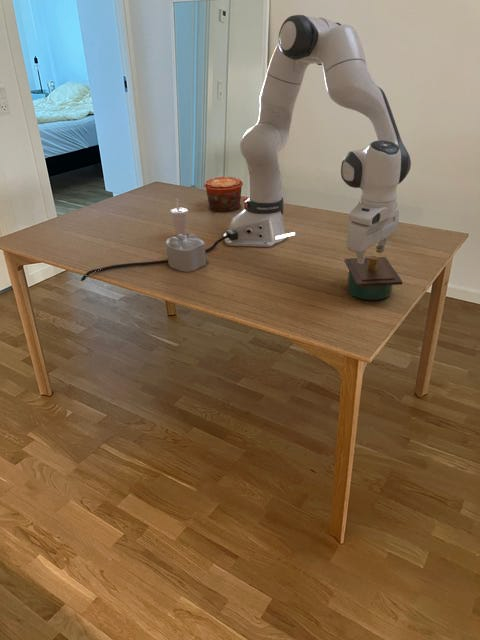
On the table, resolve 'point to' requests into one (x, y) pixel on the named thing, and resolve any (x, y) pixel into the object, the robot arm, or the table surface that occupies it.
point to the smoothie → (179, 219)
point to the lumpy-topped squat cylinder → (185, 252)
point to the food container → (224, 193)
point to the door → (373, 272)
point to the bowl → (368, 290)
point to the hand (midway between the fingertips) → (370, 257)
